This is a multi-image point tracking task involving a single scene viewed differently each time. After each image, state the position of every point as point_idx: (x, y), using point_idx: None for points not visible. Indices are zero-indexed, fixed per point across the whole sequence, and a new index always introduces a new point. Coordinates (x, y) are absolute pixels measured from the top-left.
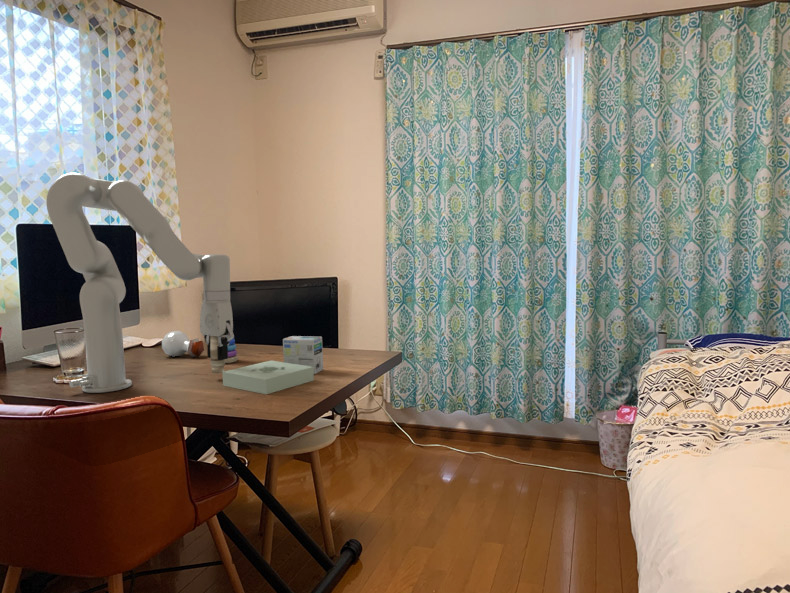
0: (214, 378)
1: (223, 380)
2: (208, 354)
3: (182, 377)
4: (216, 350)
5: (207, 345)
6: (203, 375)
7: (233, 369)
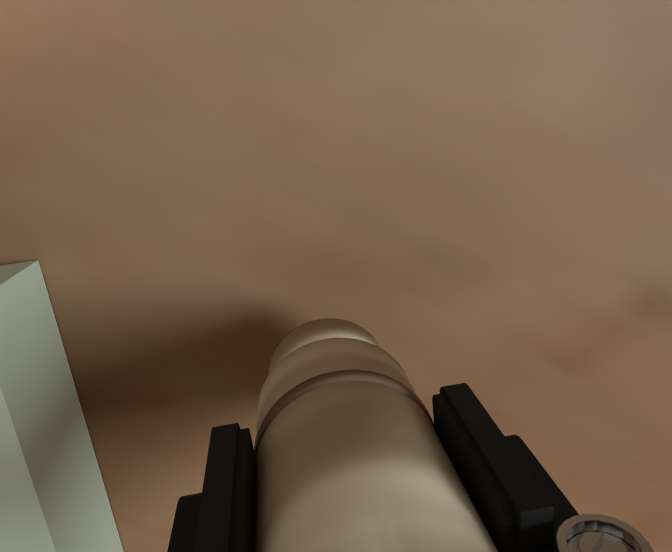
0: (381, 338)
1: (4, 275)
2: (456, 407)
3: (656, 167)
4: (275, 505)
5: (540, 495)
6: (561, 326)
7: (7, 445)
